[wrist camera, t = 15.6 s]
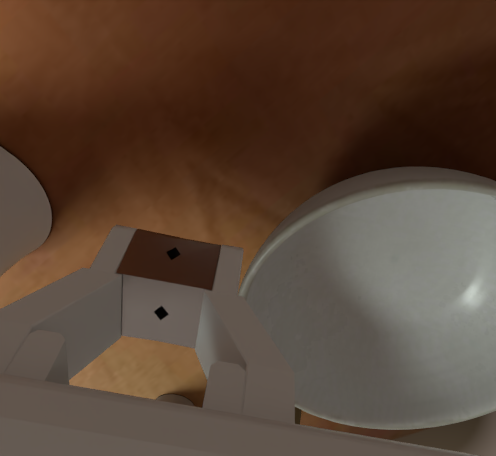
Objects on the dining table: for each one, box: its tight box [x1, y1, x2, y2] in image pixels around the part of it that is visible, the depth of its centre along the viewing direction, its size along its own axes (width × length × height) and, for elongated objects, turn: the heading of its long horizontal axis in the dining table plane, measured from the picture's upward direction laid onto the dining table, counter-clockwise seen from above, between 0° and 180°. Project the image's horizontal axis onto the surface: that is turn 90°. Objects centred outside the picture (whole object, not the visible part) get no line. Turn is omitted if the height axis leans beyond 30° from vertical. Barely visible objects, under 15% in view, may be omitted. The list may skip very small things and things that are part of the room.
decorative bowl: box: [238, 167, 496, 430], centre depth 41 cm, size 27×27×12 cm
